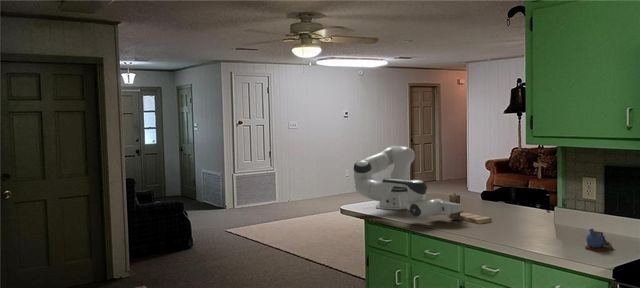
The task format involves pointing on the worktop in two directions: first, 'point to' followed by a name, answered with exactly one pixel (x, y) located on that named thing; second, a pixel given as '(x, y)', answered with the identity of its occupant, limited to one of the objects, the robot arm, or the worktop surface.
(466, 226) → the worktop surface
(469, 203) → the worktop surface
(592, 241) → the model
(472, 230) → the worktop surface
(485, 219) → the board
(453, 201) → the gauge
